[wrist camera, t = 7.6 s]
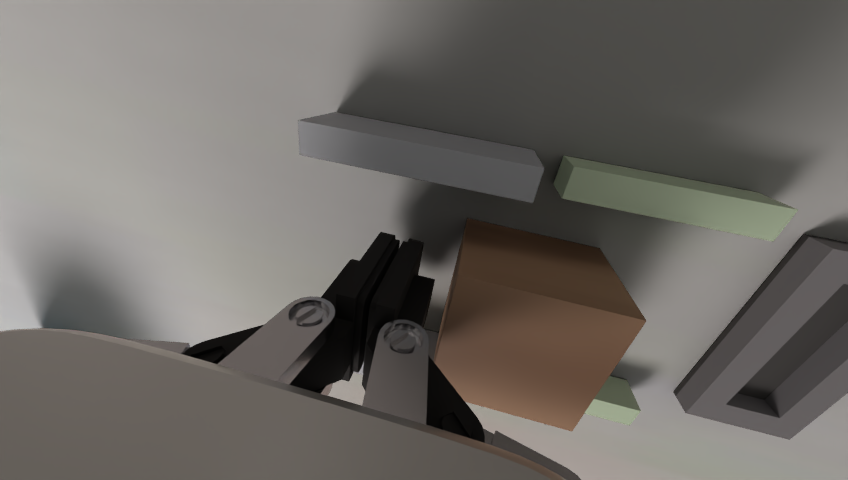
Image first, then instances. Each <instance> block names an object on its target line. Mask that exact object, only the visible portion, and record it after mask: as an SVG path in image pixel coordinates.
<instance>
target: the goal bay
mask: <svg viewBox="0 0 848 480" xmlns="http://www.w3.org/2000/svg"><path fill="white" fill-rule="evenodd" d="M554 186H555V188H556V190H557V191H558V193H559V195H560V196H561V198H562V199H566V200H571V201H576V202H581V203H586V204H591V205H596V206H601V207H606V208H611V209H616V210H620V211H625V212H630V213H635V214H640V215H645V216H650V217H655V218H660V219H665V220H670V221H675V222H680V223H684V224H689V225H694V226H699V227H704V228H709V229H714V230H719V231H724V232H729V233H734V234H739V235H744V236H748V237H753V238H758V239H763V240H768V241H774V240H775V239H776V238H777V236H778V235H779V234H780V232H781V231H782V230H783V229H784V227H785V226H786V225H787V224H788V222H789V221H790V220H791V218H792V217H793V216H794V215H795V213H796V212H797V211H798V209H795V208H793V207H791V206H788V205H786V204H783V203H781V202H779V201H776V200H774V199H772V198H769V197H767V196H765V195H762V194H760V193H758V192H753V191H748V190H742V189H737V188H732V187H727V186H721V185H716V184H711V183H706V182H700V181H695V180H690V179H685V178H679V177H674V176H669V175H664V174H658V173H653V172H648V171H643V170H637V169H632V168H627V167H622V166H616V165H611V164H606V163H601V162H595V161H590V160H585V159H580V158H574V157H569V156H563V159H562V162H561V164H560V167H559V170H558V173H557V175H556V178H555V181H554ZM640 411H641V410H640V408H639V406H638V404H637V402H636V399H635V397H634V395H633V393H632V391H631V388H630V386H629V384H628V382H627V380H624V379H620V378H616V377H612V376H609V377H608V379H607V380H606V382H605V383H604V385H603V386H602V388H601V389H600V391H599V392H598V394H597V395H596V397H595V398H594V400H593V401H592V403H591V404H590V405H589V407H588V408H587V410H586V411H585V413H584V414H588V415H592V416H596V417H599V418H603V419H607V420H611V421H614V422H618V423H622V424H626V425H630V424H631V423H632V422H633V420H634V419H635V418H636V417H637V415H638V414H639V413H640Z"/></svg>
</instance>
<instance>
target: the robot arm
mask: <svg viewBox="0 0 848 480" xmlns="http://www.w3.org/2000/svg"><path fill="white" fill-rule="evenodd" d="M399 243H400V241H399V240H396V239H395V235H391V234H387V233H383V232H380V234H379V235H378V236H377V238H376V239H375V241H374V242H373V243H372V245H371V246H370V247H369V249H368V250H367V252H366V253H365V254H364V256H363V257H362V259H361V260H360V261H358V260H353V259H352V260H350V261H349V262H348V263H347V265H346V266H345V267H344V269H343V270H342V271H341V272H340V274H339V275H338V276H337V278H336V279H335V280H334V281H333V283H332V284H331V285H330V287H329V288H328V289H327V290H326V292H325V293H324V294H323V296H322V297H321V298H320V297H304V298H300V299H297V300H295V301H293V302H292V303H290V304H289V305H287V306H286V307H285V308H284V309H283V310H281V311H280V312H279V313H278V314H277V315H275V316H274V317H273V318H272V319H271V320H269V321H268V322H267V323H266V324H265V325H261V326H258V327H254V328H251V329H247V330H243V331H240V332H236V333H232V334H229V335H225V336H222V337H218V338H214V339H211V340H207V341H204V342H201V343H199V344H196V345H194V346H193V347H190V345H189V343H180V342H165V341H150V340H135V339H122V338H117V337H112V336H108V335H103V334H98V333H92V332H85V331H78V330H68V329H51V328H38V329H16V330H6V331H0V480H581V479H580V478H579V477H578V475H576V474H575V473H573V472H572V471H571V470H569V469H568V468H566V467H564V466H562V465H560V464H558V463H557V462H555V461H553V460H551V459H549V458H547V457H545V456H543V455H541V454H540V453H538V452H536V451H534V450H532V449H530V448H528V447H526V446H524V445H522V444H521V443H519V442H517V441H515V440H513V439H511V438H509V437H507V436H505V435H503V434H502V433H500V432H498V431H495V433H494V434H493V433H491V432H489V431H487V430H485V429H483V427H482V425H481V423H480V422H479V420H478V418H477V417H476V415H475V414H474V413H473V412H472V410H471V409H470V408H469V406H468V405H467V404H466V403H465V401H464V400H463V399H462V397H461V396H460V395H459V394H458V392H457V391H456V390H455V388H454V387H453V386H452V385H451V383H450V382H449V381H448V379H447V378H446V377H445V376H444V374H443V373H442V372H441V370H440V369H439V368H438V367H437V365H436V364H435V363H434V361H433V360H432V359H431V358H430V356H429V339H428V335H427V333H426V331H425V330H424V329H423V327H424V324H425V320H426V316H427V312H428V308H429V304H430V300H431V295H432V291H433V286H434V281H435V279H431V278H427V277H423V276H419V275H418V272H419V267H420V261H421V256H422V251H423V245H424V242H421V241H417V240H413V239H409V241H408V242H405V241H403V243H402V244H401V246H400V248H399ZM363 363H364V366H363V380H362V386H363V387H364V389H365V396H364V400H363V405H362V406H361V405H357V404H354V403H350V402H347V401H344V400H340V399H337V398H333V397H330V396H328V394H329V393H330V391H331V389H332V384H333V383H334V382H337V381H339V380H346V381H349V380H350V378H351V376H352V374H353V372H357V373H358V372H359V371H360V369H361V367H362V365H363Z"/></svg>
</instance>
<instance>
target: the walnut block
mask: <svg viewBox="0 0 848 480" xmlns="http://www.w3.org/2000/svg"><path fill="white" fill-rule="evenodd" d="M645 322H646V319H645V318H644V316H643V315H642V313H641V312H640V310H639V309H638V307H637V305H636V304H635V302H634V301H633V299H632V298H631V296H630V295H629V293H628V292H627V290H626V288H625V287H624V285H623V284H622V282H621V281H620V279H619V278H618V276H617V274H616V273H615V271H614V270H613V268H612V267H611V265H610V264H609V262H608V261H607V259H606V257H605V256H604V254H603V253H602V251H601V250H600V248H596V247H592V246H587V245H583V244H579V243H574V242H570V241H565V240H561V239H557V238H552V237H548V236H543V235H539V234H535V233H530V232H526V231H521V230H517V229H513V228H508V227H504V226H500V225H495V224H491V223H486V222H482V221H478V220H473V219H469V218H467V222H466V226H465V229H464V233H463V237H462V241H461V245H460V249H459V253H458V257H457V261H456V265H455V269H454V273H453V277H452V281H451V285H450V289H449V292H448V296H447V300H446V304H445V308H444V312H443V316H442V321H441V326H440V331H439V336H438V341H437V346H436V351H435V356H434V363H435V364H436V365H437V367H438V368H439V369H440V370H441V372H442V373H443V374H444V376H445V377H446V378H447V379H448V381H449V382H450V383H451V385H452V386H453V387H454V388H455V390H456V391H457V392H458V394H459V395H460V396H461V397H462V399H463V400H464V401H465V402H469V403H472V404H476V405H479V406H483V407H487V408H490V409H494V410H497V411H501V412H504V413H508V414H512V415H515V416H519V417H522V418H526V419H530V420H533V421H537V422H540V423H544V424H547V425H551V426H555V427H558V428H562V429H565V430H569V431H573V429H574V428H575V426H576V425H577V423H578V422H579V420H580V419H581V417H582V416H583V414H584V413H585V411H586V410H587V408H588V407H589V405H590V404H591V403H592V401H593V400H594V398H595V397H596V395H597V394H598V392H599V391H600V389H601V388H602V386H603V385H604V383H605V382H606V380H607V379H608V377H609V376H610V374H611V373H612V371H613V370H614V368H615V367H616V365H617V364H618V362H619V361H620V359H621V358H622V356H623V355H624V353H625V352H626V350H627V349H628V347H629V346H630V345H631V343H632V342H633V340H634V339H635V337H636V336H637V334H638V333H639V331H640V330H641V328H642V327H643V325H644V324H645Z"/></svg>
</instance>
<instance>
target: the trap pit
mask: <svg viewBox="0 0 848 480" xmlns="http://www.w3.org/2000/svg"><path fill="white" fill-rule="evenodd" d="M847 393H848V243H846V242H841V241H836V240H831V239H826V238H821V237H816V236H811V235H806V234H803V235H802V237H801V238H800V239H799V240H798V241H797V243H796V244H795V245H794V246H793V248H792V249H791V250H790V251H789V252H788V254H787V255H786V256H785V257H784V258H783V260H782V261H781V262H780V263H779V265H778V266H777V267H776V268H775V269H774V271H773V272H772V273H771V274H770V275H769V277H768V278H767V279H766V280H765V282H764V283H763V284H762V285H761V286H760V288H759V289H758V290H757V291H756V292H755V294H754V295H753V296H752V297H751V299H750V300H749V301H748V302H747V303H746V305H745V306H744V307H743V308H742V309H741V311H740V312H739V313H738V314H737V315H736V317H735V318H734V319H733V320H732V322H731V323H730V324H729V325H728V326H727V328H726V329H725V330H724V331H723V332H722V334H721V335H720V336H719V337H718V339H717V340H716V341H715V342H714V343H713V345H712V346H711V347H710V348H709V349H708V351H707V352H706V353H705V354H704V356H703V357H702V358H701V359H700V360H699V362H698V363H697V364H696V365H695V366H694V368H693V369H692V370H691V371H690V373H689V374H688V375H687V376H686V377H685V379H684V380H683V381H682V382H681V383H680V385H679V386H678V387H677V388H676V390H675V391H674V394H675V396H676V397H677V399H678V401H679V402H680V404H681V406H682V408H683V409H684V411H685V413H688V414H692V415H696V416H699V417H703V418H707V419H711V420H715V421H719V422H723V423H727V424H731V425H734V426H738V427H742V428H746V429H750V430H754V431H758V432H762V433H766V434H769V435H773V436H777V437H781V438H785V439H789V440H790V439H791V438H792V437H793V436H795V435H796V434H797V433H798V432H800V431H801V430H802V429H803V428H805V427H806V426H807V425H808V424H810V423H811V422H812V421H813V420H815V419H816V418H817V417H818V416H819V415H821V414H822V413H823V412H824V411H826V410H827V409H828V408H829V407H831V406H832V405H833V404H834V403H836V402H837V401H838V400H839V399H841V398H842V397H843V396H844V395H846V394H847Z"/></svg>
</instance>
